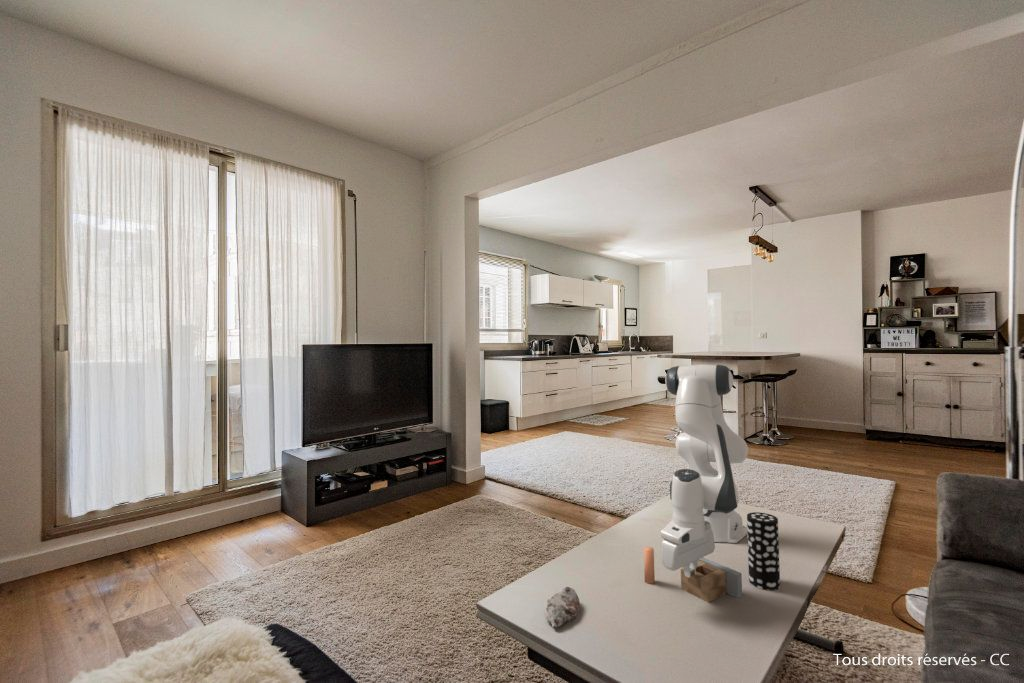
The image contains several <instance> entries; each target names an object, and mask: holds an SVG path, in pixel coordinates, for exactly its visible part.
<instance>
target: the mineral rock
mask: <svg viewBox="0 0 1024 683" xmlns="http://www.w3.org/2000/svg"><path fill="white" fill-rule="evenodd" d="M546 602H547V603H546V604H547V605H546V611H545V612H546V613H545V614H544V616H545V619H546V620H547V621H549V623H550V624H551V626H552V627H553V628H554V627H556V628H557V627H561V626H562V625H563V624H565V623H566V622H567V620H571V621H570V622H572V621H574V620H575V619H576V617H577V616H576V615H577V614H578V613H579V610H580V603H581V602H580V598H579V596H578V594H577V592H576V590H575V589H574V588H572V587H569V586H566V587H564V588H562V590H561V591H560V592H557V593H555V594H554V595H553V596H551V599H550V598H549V599H547V600H546Z"/></svg>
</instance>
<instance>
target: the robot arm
mask: <svg viewBox="0 0 1024 683" xmlns="http://www.w3.org/2000/svg"><path fill="white" fill-rule="evenodd" d="M664 382H665V386H666V389H667V391H668V393H670V394H671V395H674V396H675V405H674V406H675V407H674V408H675V409H674V411H675V412H674V415H675V422H676V424H677V427H679V429H680V430H681V431H682V432H680V433H679V434H678V435H677V437H676V439H675V442H674V443H675V451H676V452H677V454H678V456H680V457H681V458H682V459H684V460H685V461H686V463H687V464H688V465H689V467H690V468H691V469H688V468H681V469H678V470H676V471H674V472H673V475H672V480H671V481H670V484H669V499H670V500H671V504H672V513H671V514H672V515H671V520H669V522H668V524H667V525H666V526H665V527H664V528H663V529H661V531H660V536H661V538H662V539H663V540H662V542H661V550H660V551H661V563H662V566H663V567H665V568H666V569H668V570H670V571H673V572H676V571H677V570H679V569H682V568H683V569H684V575H685V576H686V577H688V578H689V577H691V576H693V575H695V574H696V567H697V564H698V559H700V558H702V557H703V558H705V557H706V556H708V555H710V554H713V553H714V551H715V548H716V546H715V545H716V544H715V543H729V544H737V543H738V542H740V541H741V540H743V538H745V536H748V532H747V526H745V525H743V524H744V523H743V517H742V516H741V515H740V514H739V513H738V512H737V511H736V509H737V508H738V506H739V505H738V504H739V500H740V498H739V497H740V496H739V491H738V488H737V485H736V482H735V480H734V476H733V471H732V465H733V464H742V463H743V462H744V461H745V460H746V459H747V457H748V454H749V447H748V444H747V442H746V441H745V439H744V438H743V437H742V436H740V435H738V434H737V433H736V432H734V431H733V430H732V429H731V428H730V426H729V425H728V423H727V422H726V420H725V417H724V412H723V406H722V397H721V396H723V395H724V396H725V395H728V394H729V393H730V392H731V390H732V388H733V385H734V376H733V374H732V372H731V369H730V367H728V366H727V365H723V364H717V365H716V364H715V365H714V364H691V365H683V366H679V365H677V366H672V367H670V368H669V369H668V370H667V372H666V375H665V381H664ZM711 463H716V468H717V470H716V469H715V467H713V465H712V464H711Z"/></svg>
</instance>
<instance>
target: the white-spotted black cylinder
mask: <svg viewBox="0 0 1024 683" xmlns="http://www.w3.org/2000/svg"><path fill="white" fill-rule="evenodd" d="M746 524H747V525H746V527H747V532H748V534H747V555H748V556H747V557H748V558H747V560H748V561H747V562H748V582H749V583H750V584H751V585H752V586H753V587H755V588H758V589H761V590H764V591H776V590H780V588H781V575H780V574H781V571H780V568H781V567H780V541H779V518H778V517H777V516H775V515H773V514H770V513H765V512H755V511H754V512H749V513H747V514H746Z"/></svg>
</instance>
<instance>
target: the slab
mask: <svg viewBox="0 0 1024 683" xmlns="http://www.w3.org/2000/svg"><path fill="white" fill-rule="evenodd" d="M698 561H701V562H703V563H706V564H708V565H711V566H713V567H715V568H718V569H720V570H722V571H725V572H726V579H727V593H726V594H729V595H731V596H734V597H736V598H737V599H739V598H741V597H743V579H742V577H743V576H742V572H740V571H737V570H735V569H732V568H729V567H728V566H725V565H722V564H720V563H718V562H715V561H713V560H710V559H708V558H706V557H702V558H700V559H698Z"/></svg>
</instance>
